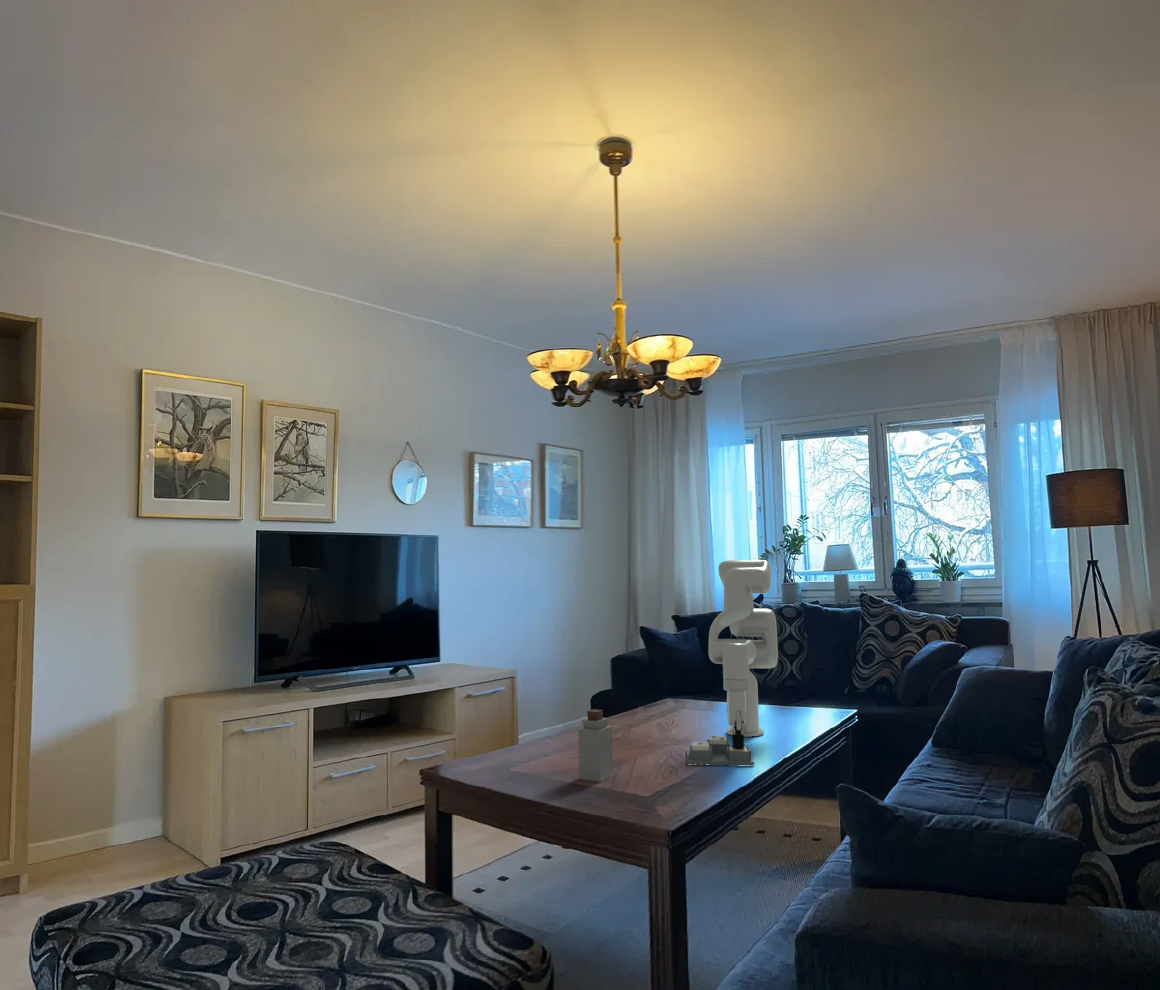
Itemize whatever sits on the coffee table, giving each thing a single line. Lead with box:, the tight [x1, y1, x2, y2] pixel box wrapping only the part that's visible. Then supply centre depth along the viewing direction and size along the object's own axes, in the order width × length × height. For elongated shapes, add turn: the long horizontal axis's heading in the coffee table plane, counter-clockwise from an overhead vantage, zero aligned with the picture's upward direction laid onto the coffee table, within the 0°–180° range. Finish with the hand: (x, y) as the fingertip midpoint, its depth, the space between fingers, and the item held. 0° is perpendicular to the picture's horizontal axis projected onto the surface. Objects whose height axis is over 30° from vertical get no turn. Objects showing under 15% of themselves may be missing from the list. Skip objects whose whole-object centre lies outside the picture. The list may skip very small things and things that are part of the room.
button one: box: [691, 741, 709, 750], centre depth 233 cm, size 5×5×2 cm
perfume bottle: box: [578, 708, 614, 783], centre depth 218 cm, size 7×7×18 cm
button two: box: [708, 735, 728, 744], centre depth 241 cm, size 5×5×2 cm
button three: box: [729, 747, 748, 751], centre depth 232 cm, size 5×5×2 cm
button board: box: [686, 739, 755, 766], centre depth 237 cm, size 18×19×4 cm
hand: (738, 748), depth 232 cm, fingers closed
